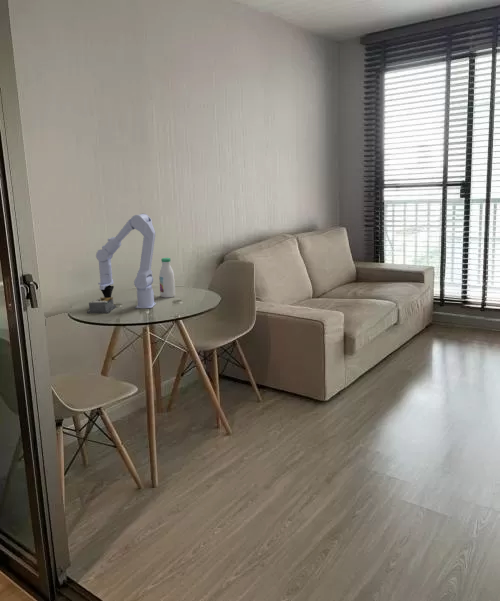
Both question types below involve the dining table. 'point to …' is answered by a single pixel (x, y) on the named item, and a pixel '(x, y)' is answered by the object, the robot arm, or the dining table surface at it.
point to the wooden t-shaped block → (106, 298)
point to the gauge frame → (101, 306)
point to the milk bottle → (166, 279)
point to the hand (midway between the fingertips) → (108, 301)
